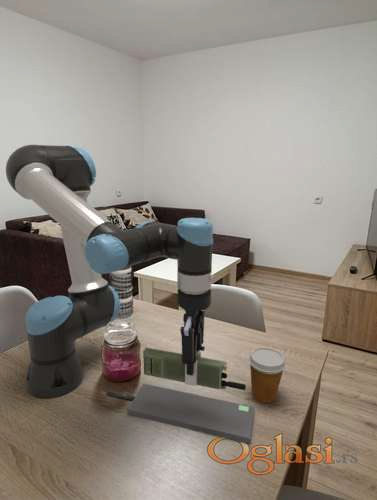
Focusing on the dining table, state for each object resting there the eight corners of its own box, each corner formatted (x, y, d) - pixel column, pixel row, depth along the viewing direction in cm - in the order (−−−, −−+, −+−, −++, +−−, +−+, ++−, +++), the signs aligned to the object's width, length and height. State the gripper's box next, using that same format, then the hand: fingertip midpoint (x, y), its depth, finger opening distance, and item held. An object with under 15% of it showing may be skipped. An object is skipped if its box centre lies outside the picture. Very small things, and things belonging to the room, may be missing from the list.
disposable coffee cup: (286, 392, 90) (291, 354, 87) (274, 413, 82) (278, 372, 79) (254, 379, 95) (257, 342, 92) (239, 398, 87) (242, 358, 84)
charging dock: (96, 406, 83) (96, 401, 83) (115, 382, 93) (115, 377, 92) (249, 443, 73) (250, 438, 73) (253, 412, 83) (254, 406, 82)
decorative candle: (127, 308, 137) (125, 251, 131) (138, 317, 130) (137, 256, 124) (107, 314, 132) (103, 255, 125) (117, 323, 125) (114, 261, 118)
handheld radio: (147, 368, 84) (246, 387, 77) (142, 376, 81) (244, 396, 74) (147, 345, 82) (247, 363, 75) (141, 353, 79) (246, 372, 72)
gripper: (202, 305, 64) (200, 405, 71) (217, 278, 79) (214, 363, 85) (166, 300, 66) (167, 398, 73) (188, 275, 81) (187, 358, 87)
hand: (192, 379), depth 79 cm, fingers closed on handheld radio, 3 cm apart
